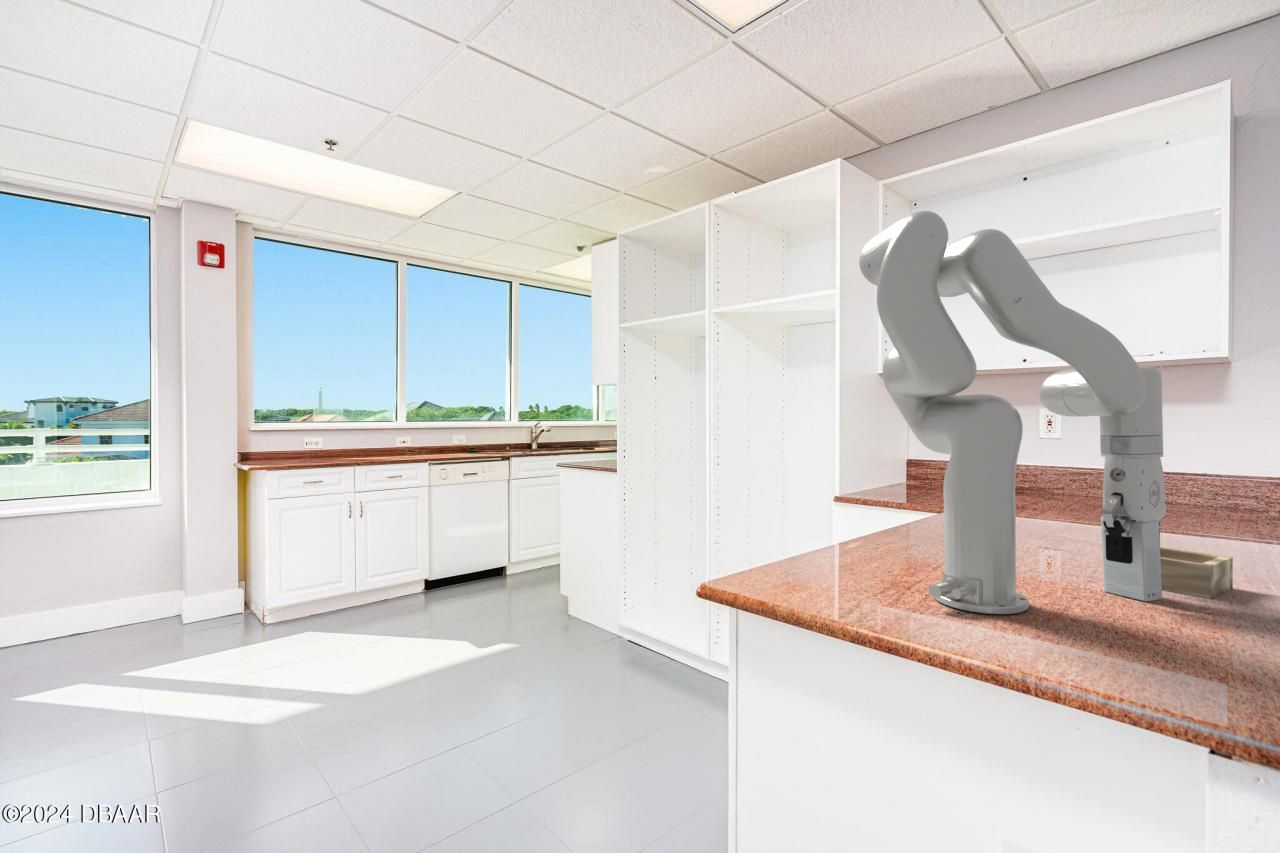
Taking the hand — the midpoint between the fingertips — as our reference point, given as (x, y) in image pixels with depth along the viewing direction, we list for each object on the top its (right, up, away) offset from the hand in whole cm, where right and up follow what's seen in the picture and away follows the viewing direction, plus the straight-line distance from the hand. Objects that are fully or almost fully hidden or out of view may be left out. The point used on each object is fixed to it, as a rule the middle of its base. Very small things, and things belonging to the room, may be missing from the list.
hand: (1133, 556), depth 93 cm
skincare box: (0, -6, 0) cm, 6 cm away
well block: (+11, -6, +4) cm, 13 cm away
